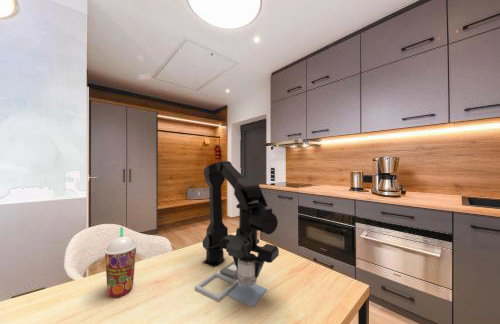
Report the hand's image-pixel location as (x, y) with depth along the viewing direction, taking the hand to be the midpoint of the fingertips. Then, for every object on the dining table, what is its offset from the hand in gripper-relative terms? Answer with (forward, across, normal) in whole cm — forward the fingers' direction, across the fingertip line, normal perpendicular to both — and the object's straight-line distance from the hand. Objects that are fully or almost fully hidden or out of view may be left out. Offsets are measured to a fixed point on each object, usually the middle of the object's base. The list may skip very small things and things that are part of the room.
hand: (247, 274), depth 61 cm
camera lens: (+2, 0, 0) cm, 2 cm away
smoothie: (+6, -34, -21) cm, 40 cm away
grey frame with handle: (+6, -10, +6) cm, 13 cm away
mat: (+6, 0, 0) cm, 6 cm away
